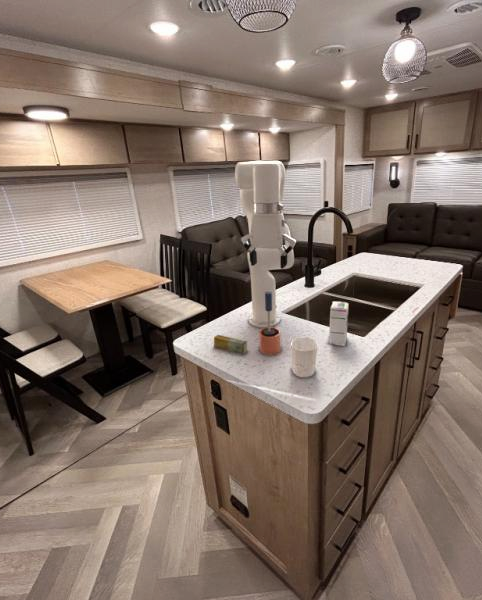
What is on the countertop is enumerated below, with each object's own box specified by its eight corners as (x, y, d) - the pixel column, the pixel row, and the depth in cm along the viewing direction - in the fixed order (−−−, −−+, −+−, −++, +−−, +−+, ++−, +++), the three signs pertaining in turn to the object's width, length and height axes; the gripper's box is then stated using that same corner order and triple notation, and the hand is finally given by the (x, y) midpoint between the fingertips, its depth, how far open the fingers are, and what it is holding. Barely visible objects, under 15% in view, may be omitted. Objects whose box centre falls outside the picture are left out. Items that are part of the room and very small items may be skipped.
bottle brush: (266, 346, 112) (265, 290, 104) (276, 347, 111) (275, 291, 103) (262, 351, 109) (261, 294, 101) (272, 353, 108) (271, 295, 100)
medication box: (247, 351, 110) (247, 341, 109) (243, 355, 108) (243, 344, 106) (217, 344, 114) (217, 334, 113) (213, 347, 112) (213, 336, 111)
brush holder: (264, 343, 115) (263, 325, 112) (283, 346, 113) (283, 328, 110) (256, 353, 109) (256, 335, 106) (276, 357, 106) (276, 338, 104)
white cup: (314, 363, 103) (315, 336, 99) (318, 379, 95) (319, 350, 91) (289, 364, 102) (289, 337, 99) (291, 379, 95) (292, 351, 91)
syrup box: (345, 346, 112) (348, 308, 106) (328, 344, 114) (330, 307, 108) (346, 338, 117) (349, 302, 111) (330, 336, 119) (332, 300, 113)
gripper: (299, 208, 93) (298, 264, 99) (245, 206, 98) (247, 260, 105) (292, 211, 86) (291, 272, 93) (234, 209, 92) (237, 267, 98)
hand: (268, 265), depth 99 cm, fingers open, 9 cm apart
